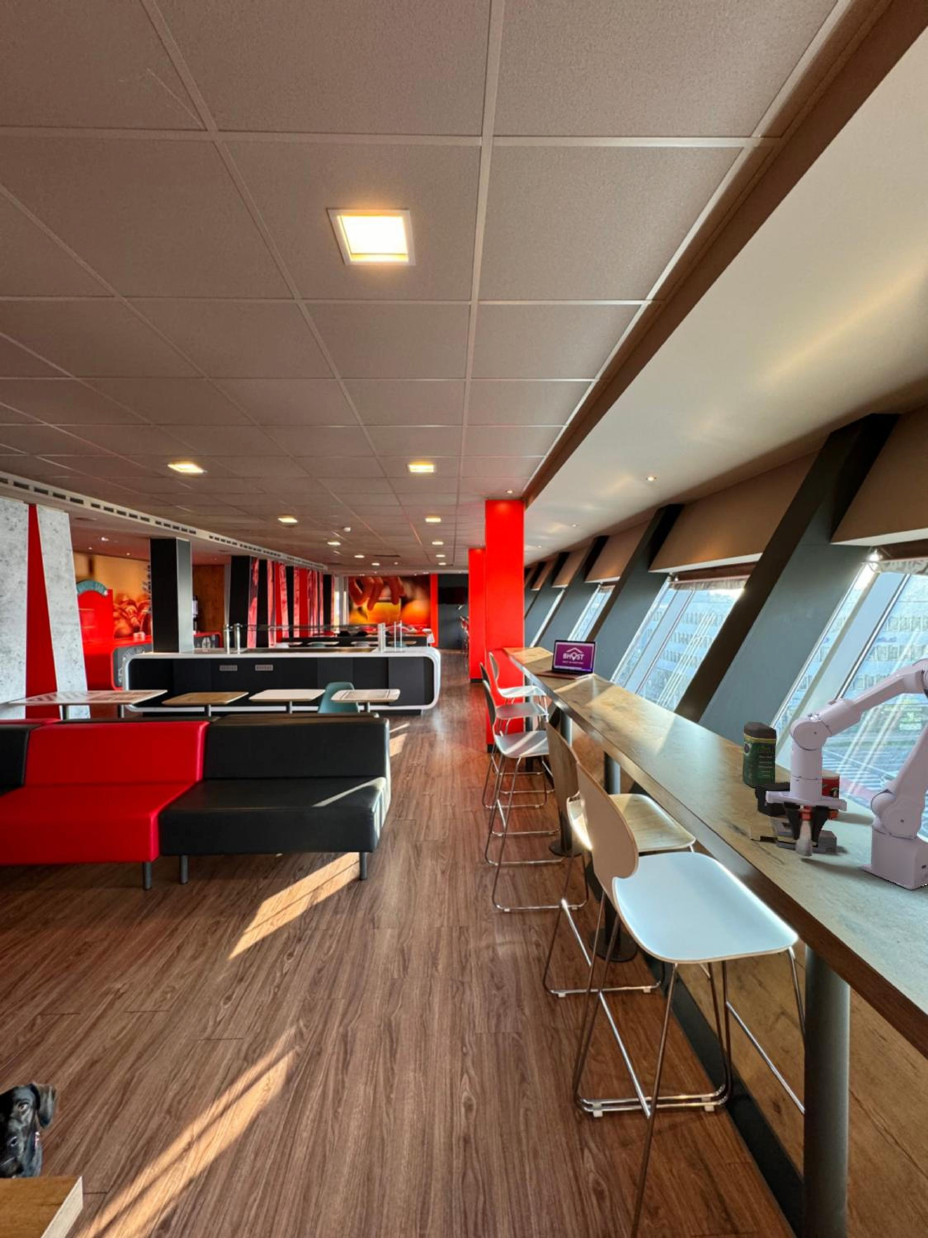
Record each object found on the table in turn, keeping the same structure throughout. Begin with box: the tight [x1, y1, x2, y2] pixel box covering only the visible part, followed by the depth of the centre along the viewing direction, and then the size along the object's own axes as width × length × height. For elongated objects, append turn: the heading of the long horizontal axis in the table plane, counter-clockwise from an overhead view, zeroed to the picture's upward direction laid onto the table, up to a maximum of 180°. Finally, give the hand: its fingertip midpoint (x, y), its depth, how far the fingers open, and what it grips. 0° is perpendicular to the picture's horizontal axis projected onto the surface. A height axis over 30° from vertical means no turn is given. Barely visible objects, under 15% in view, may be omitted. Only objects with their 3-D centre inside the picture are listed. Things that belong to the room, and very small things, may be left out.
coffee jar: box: [741, 721, 778, 788], centre depth 169 cm, size 10×8×19 cm
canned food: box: [802, 768, 841, 820], centre depth 146 cm, size 8×8×11 cm
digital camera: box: [754, 781, 802, 818], centre depth 148 cm, size 10×5×7 cm, turn 110°
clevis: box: [747, 817, 838, 854], centre depth 128 cm, size 17×8×4 cm, turn 71°
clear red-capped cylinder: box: [795, 808, 813, 858], centre depth 119 cm, size 3×3×9 cm
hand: (804, 839), depth 119 cm, fingers closed on clear red-capped cylinder, 3 cm apart
